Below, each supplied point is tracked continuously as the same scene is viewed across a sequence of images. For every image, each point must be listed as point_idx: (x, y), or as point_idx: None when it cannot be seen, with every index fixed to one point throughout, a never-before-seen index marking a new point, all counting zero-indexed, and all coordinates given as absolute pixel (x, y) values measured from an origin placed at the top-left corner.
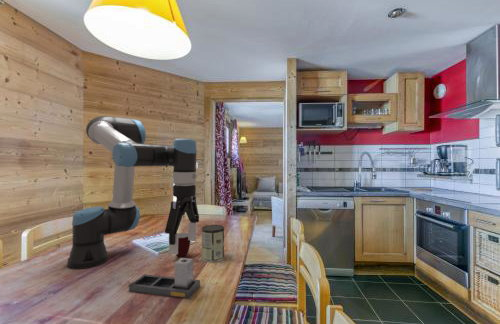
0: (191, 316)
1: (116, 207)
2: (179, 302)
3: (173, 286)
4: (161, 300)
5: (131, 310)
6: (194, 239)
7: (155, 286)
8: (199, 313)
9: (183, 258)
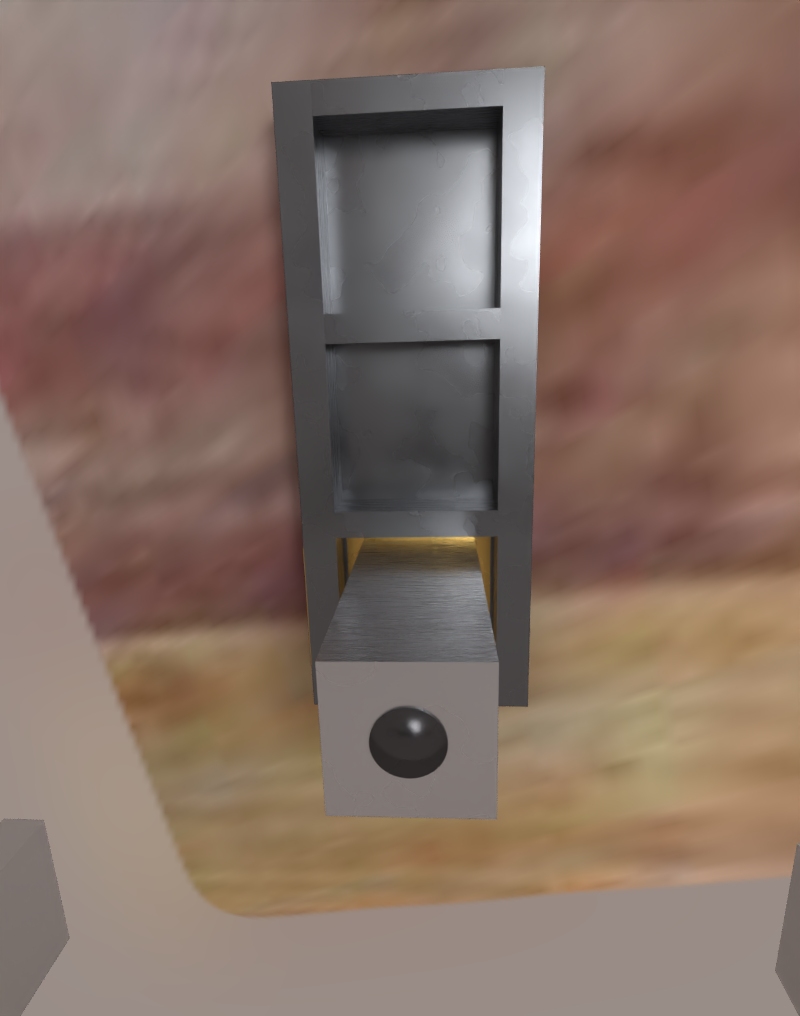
0: (168, 753)
1: None
2: (281, 619)
3: (372, 536)
4: (266, 481)
5: (86, 340)
6: (792, 991)
7: (323, 380)
8: (209, 784)
9: (483, 702)
